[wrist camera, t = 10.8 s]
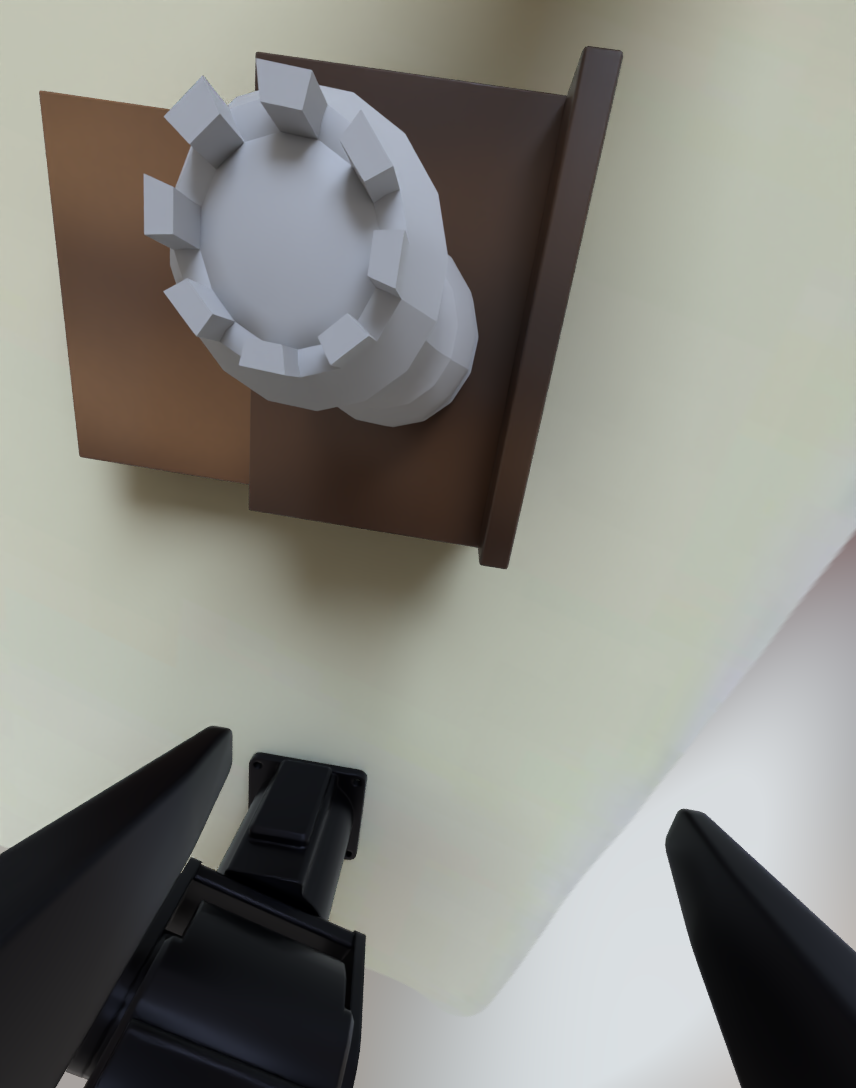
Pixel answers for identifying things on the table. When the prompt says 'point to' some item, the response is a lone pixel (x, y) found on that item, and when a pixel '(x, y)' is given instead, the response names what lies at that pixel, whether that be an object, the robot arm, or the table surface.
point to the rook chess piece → (313, 251)
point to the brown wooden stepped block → (332, 435)
